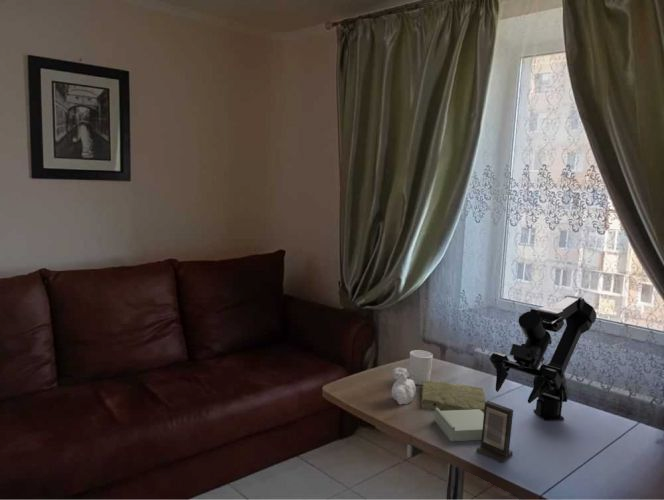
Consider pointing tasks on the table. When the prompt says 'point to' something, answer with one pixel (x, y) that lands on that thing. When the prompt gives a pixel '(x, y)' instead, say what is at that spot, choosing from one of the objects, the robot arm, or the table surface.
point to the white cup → (420, 366)
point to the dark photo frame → (496, 432)
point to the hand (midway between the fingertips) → (512, 396)
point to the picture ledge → (460, 424)
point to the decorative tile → (451, 396)
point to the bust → (403, 386)
